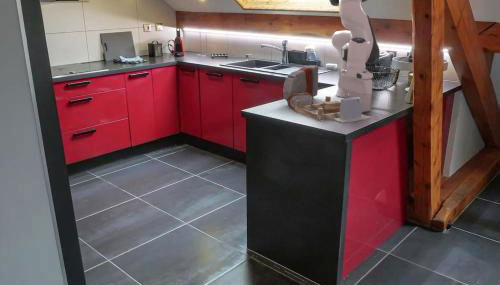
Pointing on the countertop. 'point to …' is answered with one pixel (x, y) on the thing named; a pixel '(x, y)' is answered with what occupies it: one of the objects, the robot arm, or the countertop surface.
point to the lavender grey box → (350, 108)
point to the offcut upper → (331, 105)
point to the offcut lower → (331, 110)
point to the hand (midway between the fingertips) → (353, 100)
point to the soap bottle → (365, 100)
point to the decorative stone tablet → (302, 82)
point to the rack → (319, 115)
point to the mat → (351, 119)
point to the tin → (303, 97)
